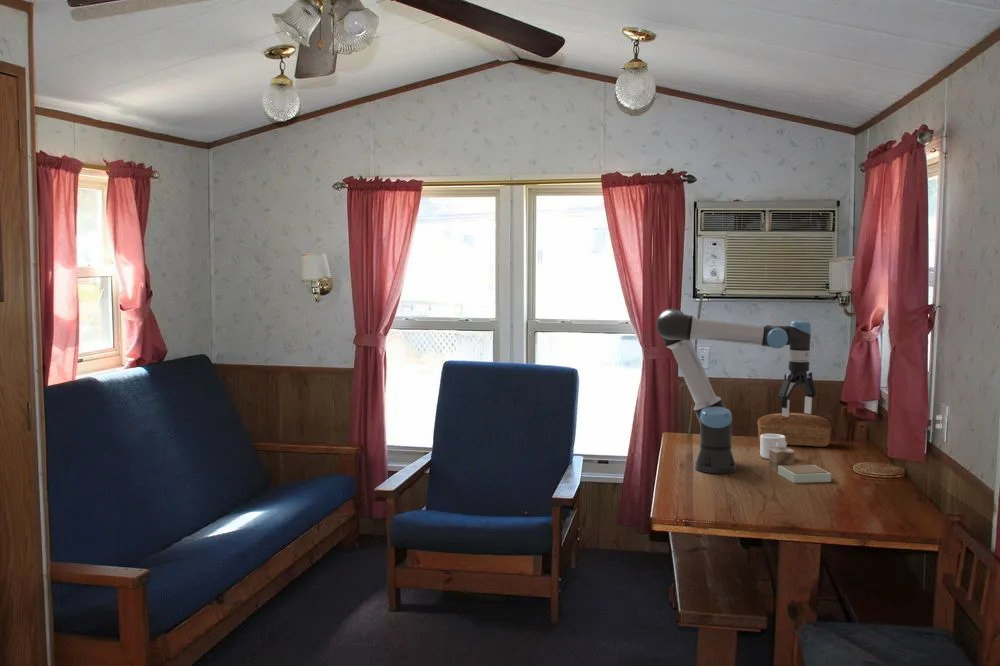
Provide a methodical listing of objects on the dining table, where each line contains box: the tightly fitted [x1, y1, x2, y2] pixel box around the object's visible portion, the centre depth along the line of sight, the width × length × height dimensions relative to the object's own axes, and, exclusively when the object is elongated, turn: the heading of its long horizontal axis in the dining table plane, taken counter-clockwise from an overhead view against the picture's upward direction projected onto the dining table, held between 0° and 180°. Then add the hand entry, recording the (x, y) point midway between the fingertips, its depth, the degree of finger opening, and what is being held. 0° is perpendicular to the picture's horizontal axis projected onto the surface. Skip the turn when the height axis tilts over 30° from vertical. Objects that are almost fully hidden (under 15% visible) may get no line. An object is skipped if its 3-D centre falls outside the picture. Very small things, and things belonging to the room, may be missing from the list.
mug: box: [759, 434, 788, 460], centre depth 346 cm, size 12×10×9 cm
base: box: [777, 464, 832, 484], centre depth 314 cm, size 14×14×3 cm
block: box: [768, 446, 796, 473], centre depth 327 cm, size 7×7×8 cm
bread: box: [756, 412, 832, 448], centre depth 374 cm, size 12×31×14 cm, turn 70°
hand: (796, 414), depth 333 cm, fingers open, 13 cm apart
